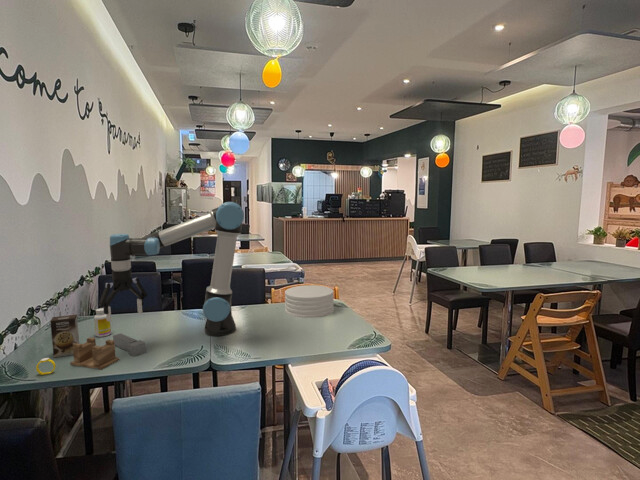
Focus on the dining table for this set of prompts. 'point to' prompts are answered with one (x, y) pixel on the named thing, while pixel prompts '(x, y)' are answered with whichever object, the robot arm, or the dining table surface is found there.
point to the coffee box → (64, 334)
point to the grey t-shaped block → (129, 344)
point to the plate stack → (309, 301)
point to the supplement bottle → (101, 324)
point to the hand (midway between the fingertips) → (125, 316)
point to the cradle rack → (94, 354)
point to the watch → (45, 361)
